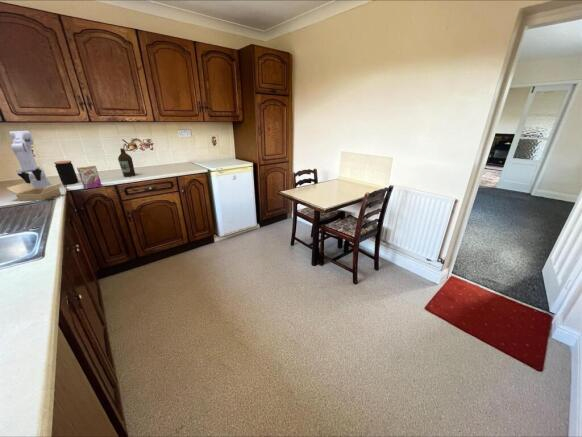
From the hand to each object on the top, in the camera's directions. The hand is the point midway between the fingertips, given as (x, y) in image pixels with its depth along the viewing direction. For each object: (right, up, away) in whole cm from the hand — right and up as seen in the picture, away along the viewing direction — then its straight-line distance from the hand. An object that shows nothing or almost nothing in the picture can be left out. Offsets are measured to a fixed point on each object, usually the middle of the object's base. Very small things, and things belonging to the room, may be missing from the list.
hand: (34, 181), depth 166 cm
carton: (+3, -11, +2) cm, 11 cm away
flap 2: (+13, -4, -1) cm, 14 cm away
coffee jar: (-9, +4, +37) cm, 38 cm away
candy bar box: (+20, -1, +25) cm, 32 cm away
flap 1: (-7, -4, -2) cm, 9 cm away
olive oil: (+25, +14, +60) cm, 67 cm away
